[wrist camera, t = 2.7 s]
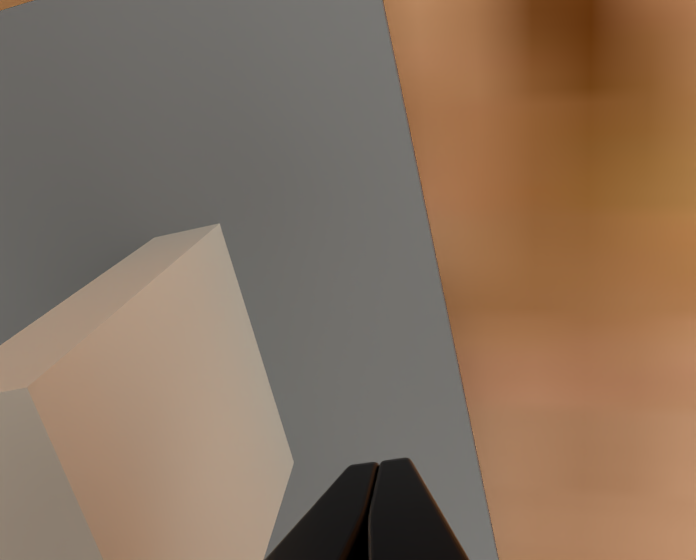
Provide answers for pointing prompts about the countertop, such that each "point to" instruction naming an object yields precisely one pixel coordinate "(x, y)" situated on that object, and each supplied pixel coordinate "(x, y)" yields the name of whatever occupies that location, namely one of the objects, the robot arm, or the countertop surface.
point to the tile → (142, 417)
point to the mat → (248, 211)
